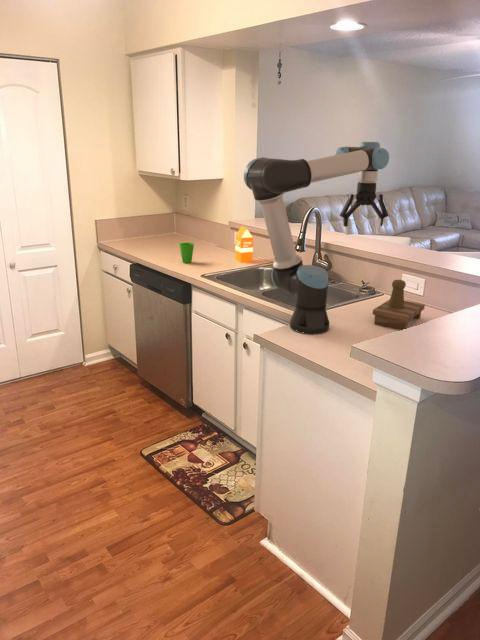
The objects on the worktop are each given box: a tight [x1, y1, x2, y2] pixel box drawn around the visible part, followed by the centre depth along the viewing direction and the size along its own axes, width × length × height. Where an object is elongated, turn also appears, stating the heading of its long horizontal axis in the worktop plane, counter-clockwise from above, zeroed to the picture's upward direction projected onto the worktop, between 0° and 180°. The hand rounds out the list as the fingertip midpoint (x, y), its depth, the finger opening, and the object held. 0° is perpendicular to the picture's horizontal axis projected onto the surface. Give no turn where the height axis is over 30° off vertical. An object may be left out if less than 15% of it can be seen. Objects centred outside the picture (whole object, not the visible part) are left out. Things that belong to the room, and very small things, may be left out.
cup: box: [178, 242, 195, 264], centre depth 299 cm, size 9×9×11 cm
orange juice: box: [235, 225, 254, 264], centre depth 304 cm, size 8×9×20 cm
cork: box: [389, 279, 407, 309], centre depth 204 cm, size 6×6×11 cm
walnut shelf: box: [372, 298, 426, 331], centre depth 207 cm, size 20×14×6 cm
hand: (362, 234), depth 216 cm, fingers open, 13 cm apart
